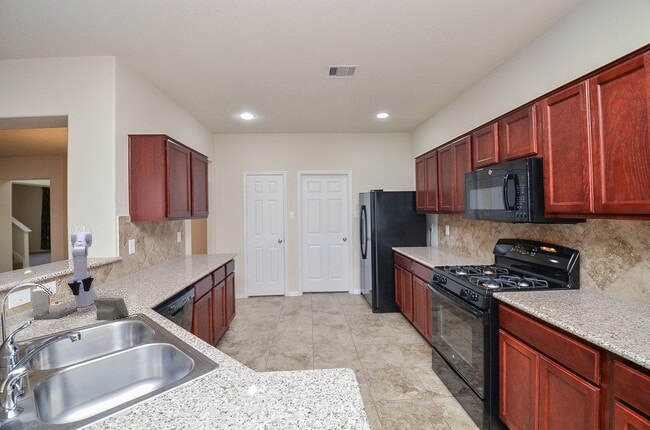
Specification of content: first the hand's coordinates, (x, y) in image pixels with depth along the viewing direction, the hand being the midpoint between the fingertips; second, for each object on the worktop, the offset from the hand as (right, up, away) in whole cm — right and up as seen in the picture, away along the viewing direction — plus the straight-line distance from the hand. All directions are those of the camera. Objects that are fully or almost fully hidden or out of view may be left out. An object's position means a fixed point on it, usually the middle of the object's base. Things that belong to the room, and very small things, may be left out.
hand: (81, 293), depth 160 cm
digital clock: (+24, -10, -10) cm, 27 cm away
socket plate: (-9, -10, -5) cm, 15 cm away
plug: (-9, -10, -5) cm, 14 cm away
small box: (-21, -11, 0) cm, 24 cm away
